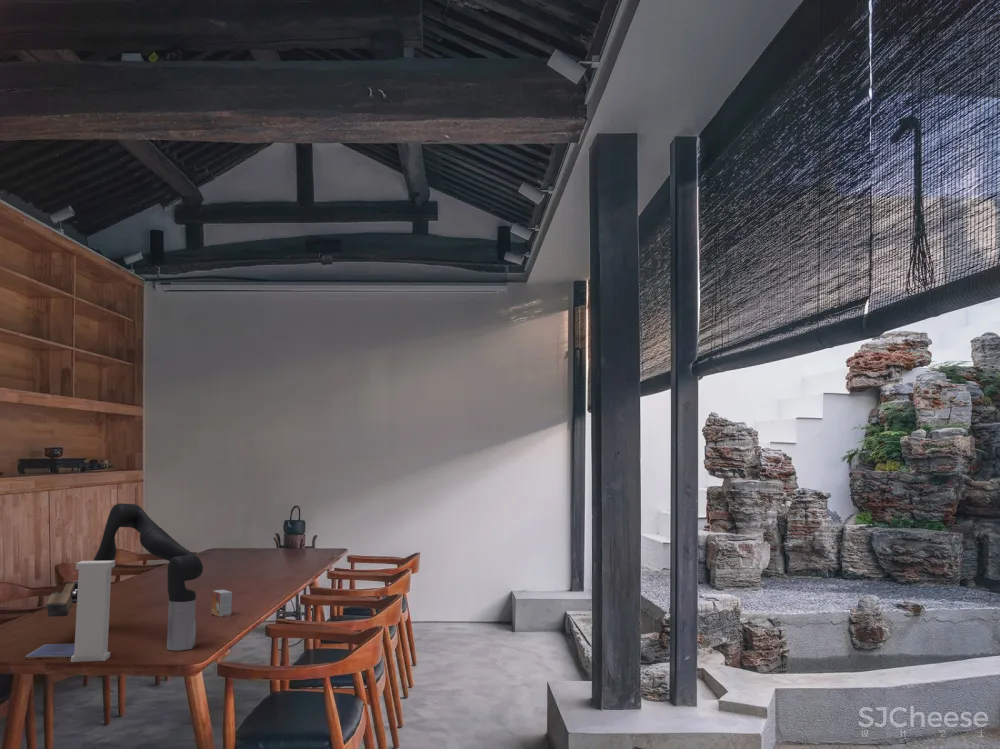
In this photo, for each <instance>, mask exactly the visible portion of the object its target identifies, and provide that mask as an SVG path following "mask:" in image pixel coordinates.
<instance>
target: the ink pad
mask: <svg viewBox="0 0 1000 749" xmlns="http://www.w3.org/2000/svg"><path fill="white" fill-rule="evenodd" d="M74 649H75V643H51V644H50V643H48V644H47V643H46V644H45V643H44V644H43V645H41V646H39V647H38V648H36V649H34V650H33V651H32V652H30V653H28V654H26V655H25V656H24V658H25V657H69V658H68V659H71V658H70V657H72V656H73V655H74Z"/></svg>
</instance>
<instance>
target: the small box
mask: <svg viewBox="0 0 1000 749" xmlns="http://www.w3.org/2000/svg"><path fill="white" fill-rule="evenodd" d="M211 593H212V594H211V608H210V609H211V611H210V615H211V614H214V615H217V616H223V615H229V614H231V615H232V605H233V603H232V601H233V600H232V599H233V591H230V590H226V589H217V590H212V592H211ZM214 615H213V616H214ZM217 616H216V617H217Z"/></svg>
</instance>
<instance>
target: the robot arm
mask: <svg viewBox="0 0 1000 749" xmlns="http://www.w3.org/2000/svg"><path fill="white" fill-rule="evenodd" d="M120 528H132V529H134V530H135V531H137V532H138V533H139V542H140V545H141V546H142V547H143V548H144V549H145V550H146V551H147V552H148V553H149V554H151V555H153V556H154V557H157V558H159V559H162V560H165V561H167V562H168V565H167V593H168V617H167V635H166V636H167V637H166V638H167V640H166V641H167V642H166V649H167V650H168V651H175V652H176V651H186V650H192V649H193V648H194V647H196V635H197V634H196V631H197V619H196V600H197V593H196V591H195V590H193V589H188V588H187V587H186V582H187V581H188V582H189V581H193V580H196V579H198V578H199V577H200V576H201V575H202V573H203V570H204V566H203V562H202V561H201V559H200V558H199V556H197V555H196V554H194V553H193V552H192V551H190V550H189V549H187V548H186V547H184V546H183V545H181V544H180V543H179V542H177V541H176V540H175V539H174V538H173V537H171V536H170V535H169V534H168V533H167V532H166V530H164V529H163V528H162V527H160V526H159V525H158V524H157V523H156V522H155V521H154V520H153V519H152V518H150V516H149V515H148V514H147V513H146V512H145V510H143V508H142V506H140V505H138V504H135V503H122V502H121V503H116V504H115V505H113V506H112V507H111V509H110V511H109V514H108V517H107V520H106V524H105V527H104V530H103V535H102V538H101V542H100V545H99V548H98V550H97V552H96V554H95V556H94V558H93V560H92V561H115V559H116V556H117V544H116V535H117V531H118V530H119V529H120ZM73 583H75V590H74V591H73V592H72V594H71V598H72V604H77V593H78V580H76V581H74V582H73ZM62 592H63V591H61V592H59V591H55V590H53V591H52V594H62Z"/></svg>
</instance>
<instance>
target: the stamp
mask: <svg viewBox="0 0 1000 749" xmlns="http://www.w3.org/2000/svg"><path fill="white" fill-rule="evenodd" d="M74 590H75V583H74V582H70V583H68V582H67V583H66V584H65V585H64V588H63V592H62V591H61V592H62V594H53V593H50V596H49V598H48V600H47V601H46V609H47V615H48V616H47V617H51V618H53V617H68V616H69V614H70V612H71V610H72V608H73V604H74V603H72V598H71V594H72V592H73V591H74Z"/></svg>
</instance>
